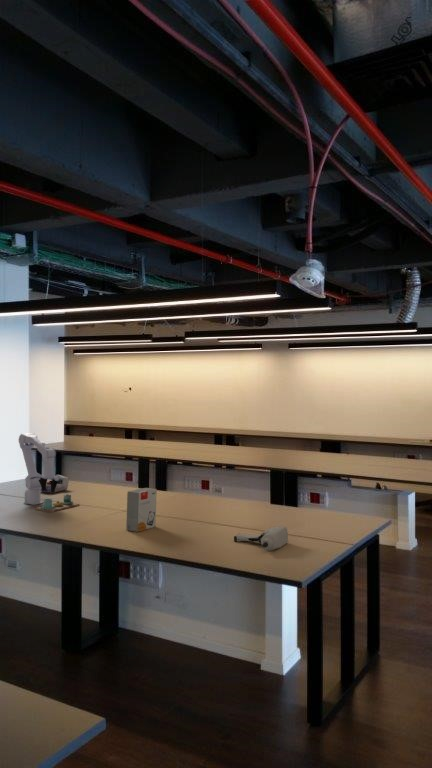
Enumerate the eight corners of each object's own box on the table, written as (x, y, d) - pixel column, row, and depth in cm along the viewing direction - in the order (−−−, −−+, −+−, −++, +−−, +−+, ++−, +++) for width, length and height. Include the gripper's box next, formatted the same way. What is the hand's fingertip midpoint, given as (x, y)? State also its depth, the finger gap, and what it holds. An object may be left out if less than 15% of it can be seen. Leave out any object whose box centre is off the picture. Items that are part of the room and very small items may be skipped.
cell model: (70, 475, 402) (48, 479, 386) (70, 490, 403) (48, 495, 386) (58, 473, 409) (35, 477, 393) (58, 488, 410) (35, 493, 393)
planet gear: (38, 508, 337) (38, 499, 337) (48, 506, 344) (48, 497, 344) (47, 510, 333) (48, 501, 333) (57, 507, 340) (57, 499, 340)
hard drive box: (137, 532, 289) (137, 493, 289) (125, 530, 293) (126, 491, 293) (156, 526, 302) (156, 488, 302) (145, 524, 306) (145, 487, 306)
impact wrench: (220, 542, 264) (270, 535, 253) (239, 531, 284) (286, 525, 274) (224, 560, 263) (274, 554, 252) (243, 547, 283) (290, 542, 273)
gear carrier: (51, 512, 332) (51, 500, 332) (35, 509, 339) (35, 498, 339) (79, 505, 352) (79, 494, 352) (63, 503, 359) (64, 492, 359)
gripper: (35, 468, 347) (34, 491, 347) (52, 470, 340) (52, 493, 340) (44, 467, 353) (43, 489, 353) (61, 469, 346) (60, 491, 346)
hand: (48, 491), depth 347 cm, fingers open, 7 cm apart
